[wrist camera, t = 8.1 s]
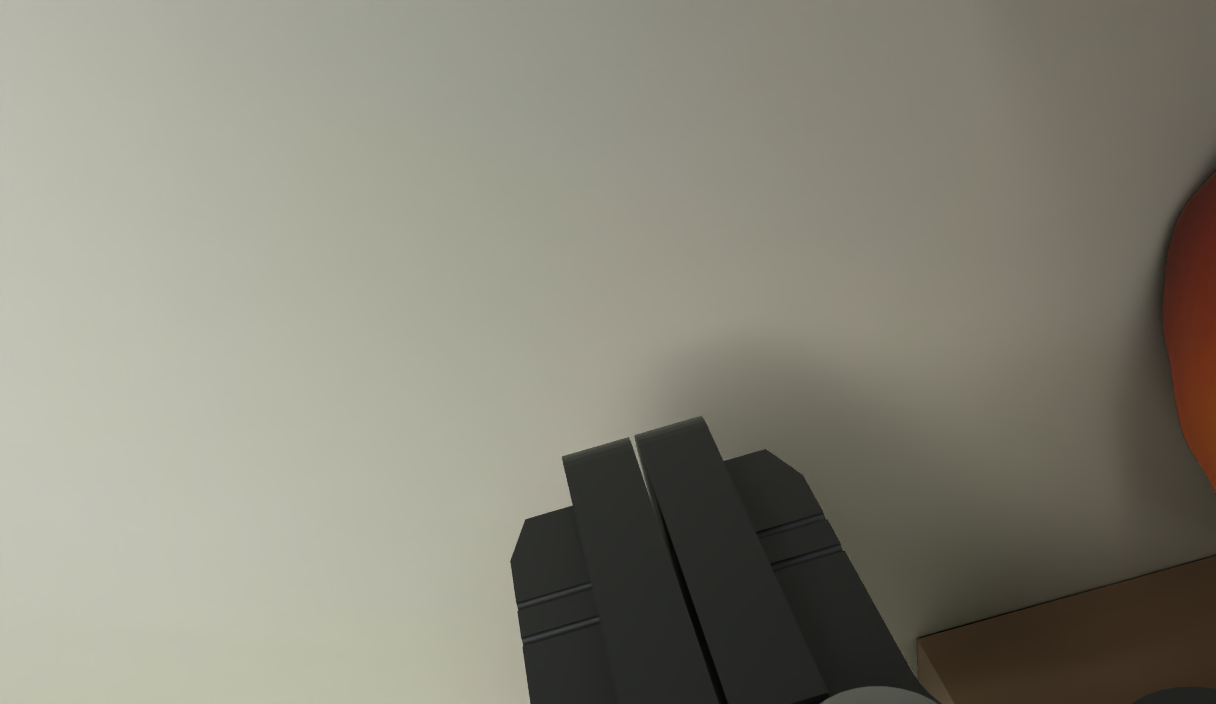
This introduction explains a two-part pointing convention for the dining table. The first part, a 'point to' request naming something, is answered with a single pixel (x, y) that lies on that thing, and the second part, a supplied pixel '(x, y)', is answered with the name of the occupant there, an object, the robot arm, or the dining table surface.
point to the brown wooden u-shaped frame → (1084, 645)
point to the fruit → (1194, 323)
